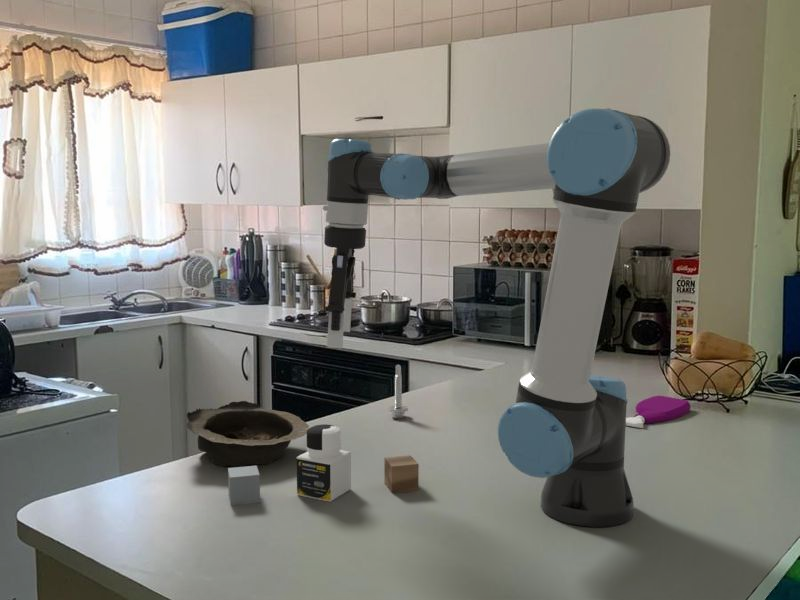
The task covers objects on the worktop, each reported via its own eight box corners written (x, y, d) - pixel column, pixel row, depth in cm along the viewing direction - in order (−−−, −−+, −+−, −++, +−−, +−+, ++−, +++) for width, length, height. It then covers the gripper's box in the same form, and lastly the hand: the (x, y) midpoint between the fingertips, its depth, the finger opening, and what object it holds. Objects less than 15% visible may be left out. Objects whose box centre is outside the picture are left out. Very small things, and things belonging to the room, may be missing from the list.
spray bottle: (694, 412, 196) (648, 434, 178) (653, 404, 203) (605, 425, 186) (694, 401, 195) (649, 422, 178) (653, 393, 203) (605, 413, 185)
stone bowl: (177, 444, 168) (179, 401, 167) (292, 440, 177) (294, 400, 176) (189, 480, 145) (192, 430, 144) (321, 474, 154) (323, 427, 153)
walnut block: (418, 490, 141) (418, 463, 141) (391, 493, 140) (391, 466, 139) (410, 481, 146) (410, 455, 146) (384, 483, 145) (384, 457, 144)
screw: (408, 419, 187) (388, 419, 187) (407, 414, 192) (388, 414, 192) (408, 366, 186) (388, 366, 186) (407, 362, 191) (388, 362, 191)
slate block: (260, 502, 136) (259, 474, 135) (230, 505, 134) (229, 477, 134) (257, 492, 140) (256, 465, 140) (228, 495, 139) (227, 468, 138)
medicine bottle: (296, 495, 139) (295, 429, 137) (318, 483, 145) (318, 419, 143) (330, 502, 135) (329, 435, 134) (351, 489, 142) (351, 424, 140)
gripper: (333, 218, 155) (327, 323, 159) (315, 229, 131) (309, 353, 135) (371, 221, 155) (364, 326, 159) (360, 233, 131) (352, 356, 134)
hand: (339, 339), depth 147 cm, fingers open, 13 cm apart
